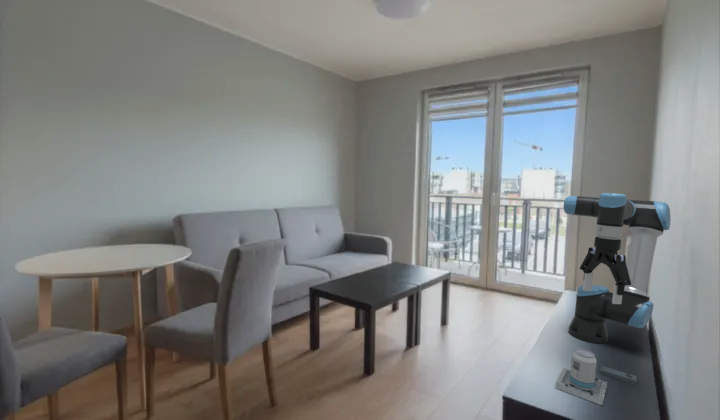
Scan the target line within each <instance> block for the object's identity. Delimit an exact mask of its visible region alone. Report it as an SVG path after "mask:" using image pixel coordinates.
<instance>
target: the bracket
mask: <svg viewBox="0 0 720 420" xmlns="http://www.w3.org/2000/svg"><path fill="white" fill-rule="evenodd" d="M600 375H602V376H606V377H609V378H612V379H615V380H619V381H622V382H624V383H625V382H626V383H628V384H632V385H635V386H637V384H638V380H637V378H638V377H637V376H636V375H633V374H630V373H629V375H628V374H627V372H623V371H619V370H617V369H613V368H610V367H606V366H603V365H601V366H600Z"/></svg>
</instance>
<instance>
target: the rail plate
mask: <svg viewBox="0 0 720 420" xmlns="http://www.w3.org/2000/svg"><path fill="white" fill-rule="evenodd" d="M570 371H571V369H569V368H567V367H563V368H562V370H561V371H560V373H559V375H558V377H557V380H556V381H555V386H554V388H555V389H557V390H559V391H562V392H563V393H564V392H565V393H567V394H569V395H573V396H574V397H575V396H576V397H578V398H581V399H584V400H586V401H589V402H592V403H594V404H597V405H599V406H603V404H604V400H605V396H606V392H607V389H608V382H607V381H605V380H602V379H598V378H596V377H595V381H594V389H593V390H589V391H583V390H581V389H578V388H575V387H574V386H573V385H572V384H571V383H570V381H569V380H570Z"/></svg>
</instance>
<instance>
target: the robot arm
mask: <svg viewBox="0 0 720 420" xmlns="http://www.w3.org/2000/svg"><path fill="white" fill-rule="evenodd" d="M563 211H564V213H565V214H566V215H572V216H580V217H591V218H596V228H595V237H594V241H593V242H594V244H593V246H594V247H592V246H591V247H588V249H587V254H586V255H585V258H584V259H583V260H582V263H581V265H580V267H579V269H580V270H582V272H583V284H582V285H580V286H578V288H577V292H576V297H575V310H574V315H573V317H572V319H571V322H570V324H569V325H568V329H567V332H568V334H570V336H572V337H574V338H576V339H579V340H581V341H584V342H588V343H593V344H605V343H607V342H608V341H609V333H608V330H607V326H606V320H609V321H613V322H615V323H619V324H624V325H627V326H628V327H634V328H639V329H641V328H645V327H646V326H647V324H648V323H649V321H650V320H651V317H652V315H653V311H654V303H653V302H652V301H651V300H650V298H651V297H650V296H649V294H648V293H647V289H648V286H649V284H648V283H649V279H650V274H651V269H652V267H653V266H652V265H653V259H654V256H655V251H656V247H657V246H656V245H657V241H658V238H659V237H660V236H662V235H663V234H664V231H669V230H670V227H671V209H670V206H669V204H668V203H666V202H662V201H656V200H642V199H640V200H637V199H627V195H626V194H623V193H613V192H611V193H610V192H603V193H600V196H599V197H596V196H595V197H594V196H580V195H569V196H567V197H565V199H564V201H563ZM623 226H628V230H629V231H630V232H631V236H630V237H631V238H630V243H629V245H628V246H629V247H628V252H627V257H626V255H625V254H624V255H623V254H618V251H620V250H621V247H622V246H621V245H622V244H621V243H622V240H621V239H622V237H623V229H624V227H623ZM601 264H603V265H606V266H607V267H608V268H609V270H610V272H611V274H612V278H613V279H614V281H615V284H613V285H614V286H613V292H611V291H610V288H609V287H608V286H607V287H606V286H604V285H598V284H593V278H594V276H593V275H594V273H593V271H594V270H596V268H597V267H599V265H601Z"/></svg>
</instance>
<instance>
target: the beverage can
mask: <svg viewBox="0 0 720 420" xmlns="http://www.w3.org/2000/svg"><path fill="white" fill-rule="evenodd" d="M571 355H572V356H571V364H570V370H571V371H570V380H569V381H570V383H571V384H572V385H573V386H574V387H575V388H578V389H581V390H583V391H589V390H593V389H594V381H595V378H596V371H597V365H598V364H597V358H596V355H595V353H594V352H593V351H590V350H588V349H585V348H576V349H575V351H574V352H573V353H571Z"/></svg>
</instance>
